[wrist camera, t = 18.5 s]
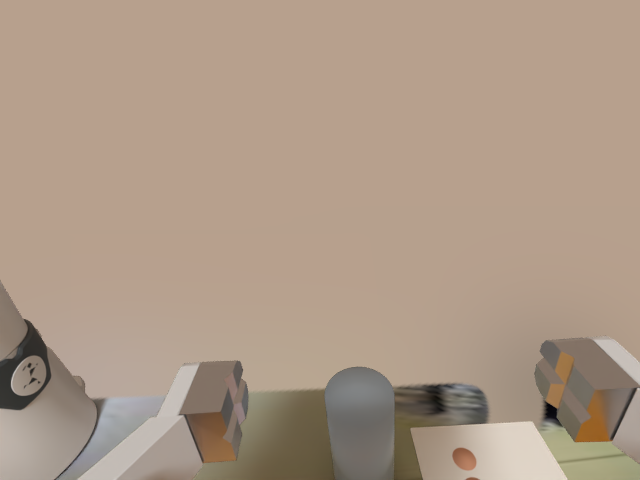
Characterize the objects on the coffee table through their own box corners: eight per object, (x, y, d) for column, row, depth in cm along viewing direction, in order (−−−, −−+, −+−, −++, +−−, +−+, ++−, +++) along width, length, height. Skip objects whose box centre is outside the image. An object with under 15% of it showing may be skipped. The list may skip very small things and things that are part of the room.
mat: (438, 543, 28) (438, 539, 28) (409, 430, 37) (410, 427, 36) (598, 536, 27) (600, 533, 27) (531, 424, 36) (531, 421, 36)
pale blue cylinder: (336, 515, 30) (324, 428, 25) (334, 452, 35) (324, 368, 30) (399, 513, 30) (401, 424, 24) (388, 449, 35) (388, 365, 29)
